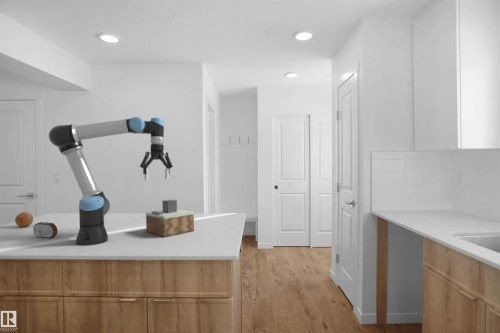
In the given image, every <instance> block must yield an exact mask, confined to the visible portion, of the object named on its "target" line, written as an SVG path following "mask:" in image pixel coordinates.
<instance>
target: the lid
mask: <svg viewBox="0 0 500 333" xmlns="http://www.w3.org/2000/svg"><path fill="white" fill-rule="evenodd" d="M192 214H193V215H194V214H195V211H191V210H185V209H182V208H181V209H179V208H177V212H174V213H164V212H163V209H162V210H155V211H154V210H153V211H148V212H145V216H146V215H148V216H153V217H157V218H162V219H168V218H174V217H180V216H186V215H192Z"/></svg>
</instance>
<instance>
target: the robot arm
mask: <svg viewBox="0 0 500 333" xmlns="http://www.w3.org/2000/svg"><path fill="white" fill-rule="evenodd" d="M164 132H165V121H164V119H163V118H161V117H151V118H150V120H144V119H143V118H141V116H140V117H139V116H133V117H131V118H126V119H125V118H124V119H117V120H109V121H102V122H95V123H94V122H93V123H88V124H87V123H86V124H81V125H80V124H79V125H75V124H74V123H72V124H63V125H62V124H60V125H55V126H54V127H52V128H51V129H50V131H49V132H48V138H49V141H50V142H51V145H54V146H55V147H57V148H58V150H59V152H60V154H61V155H63V156H65V157H66V161H67V162H68V165H69V167H70V169H71V171H72V173H73V176H74V179H75V180H76V182H77V184H78V187H79V189H80V191H81V193H82V197H81V199H80V200H79V202H78V209H79V210H78V211H79V213H78V214H79V230H78V233H77V236H76V239H75V243H76V245H79V246H80V245H81V246H91V245H98V244H102V243H106V242H107V241H108V240H109V235H108V231H107V230H106V227H105V215H107V214H108V213H109V211H110V207H111V203H110V200H109V199H108V198H107V197H106V195H105V194H104V191H103V190H102V189H100V188H99V187H98V184H97V182H96V180H95V177H94V175H93V173H92V171H91V169H90V166H89V164H88V162H87V160H86V157H85V154H84V152H83V149H84V145H83V143H82V140H90V139H96V138H103V137H109V136H116V135H121V134H122V135H123V134H129V133H130V134H142V135H143V134H147V135H148V134H149V135H150V151H145V154H144V157H143V159H142V160H141V163H140V165H139V167H140V168H141V169H143V170H142V172H143V173H142V174H143V175H144V178H143V179H144V180H145V181H148V180H149V169H148V167H149V166H150V165H151V164H152V162H153V161H154V160H155V161H156V160H160V161H161V163H162V164H163V166H165V169H164V171H165V172H164V180H169V175H170V173H171V172H170V170H171V168H173V164H172V161H171V159H170V157H169V152H164V148H165V146H164V141H165V140H164V138H165V136H164V135H165V133H164Z"/></svg>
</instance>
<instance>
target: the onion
mask: <svg viewBox="0 0 500 333" xmlns="http://www.w3.org/2000/svg"><path fill="white" fill-rule="evenodd" d="M14 220H15V221H14V222H15V223H14V224H15V225H16V226H18V227H20V228H27V227H30V225H32V223H33V222H34V217H33V215H32V214H31V213H30V212H28V211H22V212H20V213H19V214H17V215H16V216H15V219H14Z"/></svg>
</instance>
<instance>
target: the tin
mask: <svg viewBox="0 0 500 333" xmlns="http://www.w3.org/2000/svg"><path fill="white" fill-rule="evenodd" d="M32 228H33V233H34V234H33V235H35V237H37V238H41V239H51V238H55V237H56V236H57V235H58V227H57V226H56V224H55V223H54V222H43V221H40V222H37V223H35V224H34V225H33V227H32Z"/></svg>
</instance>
